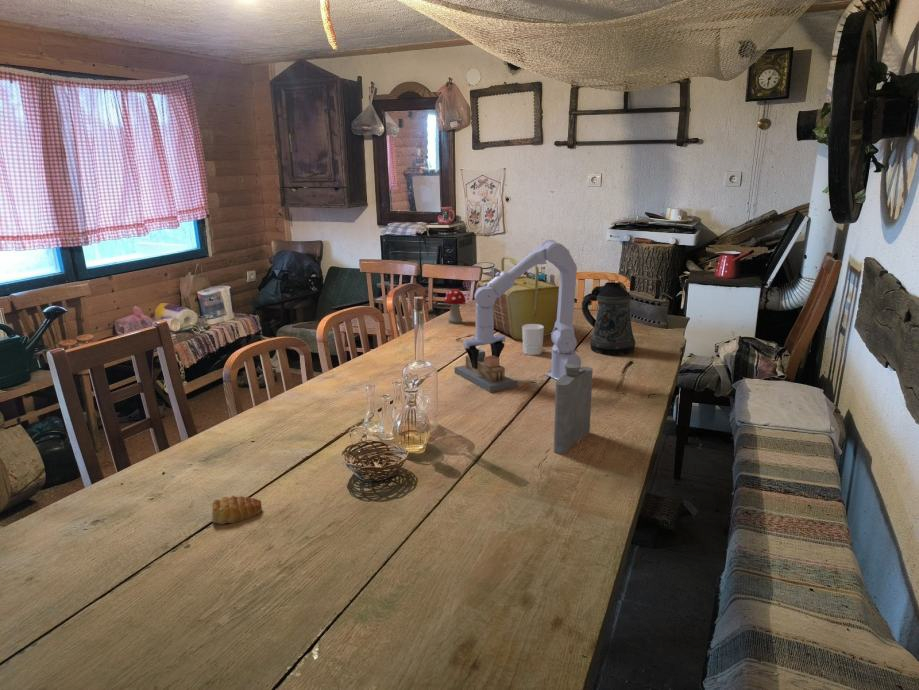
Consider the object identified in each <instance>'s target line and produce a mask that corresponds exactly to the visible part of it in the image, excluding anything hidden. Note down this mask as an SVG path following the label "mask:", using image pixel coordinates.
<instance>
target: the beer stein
mask: <svg viewBox="0 0 919 690" xmlns="http://www.w3.org/2000/svg"><path fill="white" fill-rule="evenodd" d="M620 284H621V283H620V282H615V281H614V282H611V281H609V282H605V284H604V285H601V286H600V285H599V286H594V288H593V289H592V290H591V293H588V294H585V296H584V297H583V298H582V301H581V311H582V315H583V316H584V318H585V320H587V322H588V323H589V325H590V326H592V327H593V332H592V335H591V337H590V339H589V344H590V349H591V351H592V352H594V353H596V354H599V355H604V356H612V357H613V356H618V357H619V356H622V357H623V356H628V355H630V353H631V354H633V353H634V350H635V347H636V340H635V339H636V338H635V336H634V333H633V328H632V322H631V320H632V319H631V311H630V310H631V309H630V302H631V300H632V295H631V293H630V292H628V290H626V289H625V288H623V287H622V285H620ZM596 301H597V302H598V305H597V311H596V312H597V313H596V317H594V316H593V315H592V314H591V311H590V310H589V304H590V303H591V302H596Z"/></svg>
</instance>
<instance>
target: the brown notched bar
mask: <svg viewBox="0 0 919 690" xmlns="http://www.w3.org/2000/svg"><path fill="white" fill-rule="evenodd" d="M465 365H466V368H467V369H469V370H471V371H473V372H475V373H477V374H479V375H481V376H483V377H485V378H487V379H489V380H491V381H493V382H497V381H501V380H505V374H506V372H505V371H506V368H505V367H504V366H502V365H500V364H499V366H495V367H488V366H486V365H484V359H482V360H478V367H477V369H474V368H472V364H471V361H470V358H469V355H466V356H465Z"/></svg>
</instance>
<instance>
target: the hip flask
mask: <svg viewBox="0 0 919 690" xmlns="http://www.w3.org/2000/svg"><path fill="white" fill-rule="evenodd" d="M565 369H566V374H565V375H564V376H562V377H561V378H560V379H559V380H556V382H555V396H554V398H555V399H554V400H555V401H554V402H555V403H554V427H553V428H554V431H553V436H554V437H553V453H555V454H557V455H565V454H567V453H568V452H569V450H570V448H572V447H573V445H575V444H576V443H578V442H579V441H580V440H582V439H584V438H585V437H587V436H590V429H591V409H592V391H593V390H592V389H593V372H594V371H593V367H590V366H581V367H580V365H578V364H573V363H570V364H566V365H565Z"/></svg>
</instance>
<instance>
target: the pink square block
mask: <svg viewBox="0 0 919 690" xmlns="http://www.w3.org/2000/svg"><path fill="white" fill-rule="evenodd" d="M484 365H486V366H488V367H495V366H499V365H500V357H499V358H498V357H496V356H494V355H492V354H491V355H488V356H485V357H484Z"/></svg>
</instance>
